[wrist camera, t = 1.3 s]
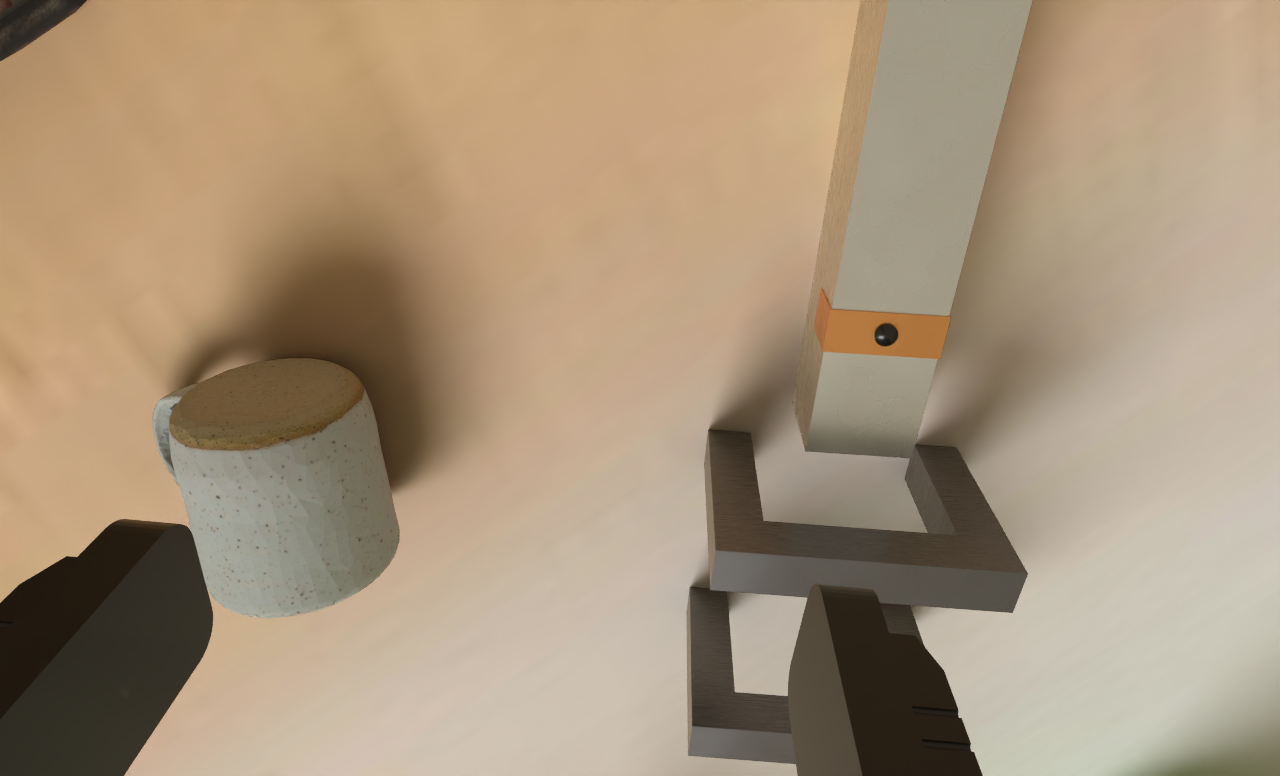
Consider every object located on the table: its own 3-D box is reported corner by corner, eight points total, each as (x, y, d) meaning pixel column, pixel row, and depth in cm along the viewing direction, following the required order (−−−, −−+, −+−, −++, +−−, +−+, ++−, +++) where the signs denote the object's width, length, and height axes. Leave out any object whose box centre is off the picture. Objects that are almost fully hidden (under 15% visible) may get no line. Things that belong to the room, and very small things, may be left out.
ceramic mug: (391, 344, 32) (310, 445, 25) (424, 505, 36) (361, 629, 29) (146, 345, 33) (5, 444, 26) (205, 502, 37) (95, 623, 30)
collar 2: (690, 587, 38) (692, 731, 31) (909, 603, 38) (961, 752, 31) (686, 614, 39) (688, 760, 32) (901, 630, 38) (950, 781, 31)
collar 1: (708, 429, 33) (715, 550, 27) (956, 447, 33) (1027, 573, 26) (704, 464, 34) (710, 590, 27) (946, 482, 34) (1012, 612, 27)
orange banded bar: (934, -465, 20) (990, -558, 17) (1092, -457, 20) (1182, -548, 17) (790, 398, 33) (804, 453, 29) (887, 405, 33) (914, 460, 29)
